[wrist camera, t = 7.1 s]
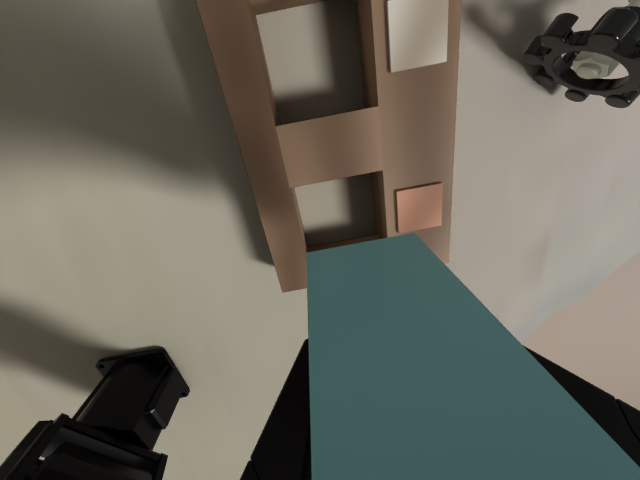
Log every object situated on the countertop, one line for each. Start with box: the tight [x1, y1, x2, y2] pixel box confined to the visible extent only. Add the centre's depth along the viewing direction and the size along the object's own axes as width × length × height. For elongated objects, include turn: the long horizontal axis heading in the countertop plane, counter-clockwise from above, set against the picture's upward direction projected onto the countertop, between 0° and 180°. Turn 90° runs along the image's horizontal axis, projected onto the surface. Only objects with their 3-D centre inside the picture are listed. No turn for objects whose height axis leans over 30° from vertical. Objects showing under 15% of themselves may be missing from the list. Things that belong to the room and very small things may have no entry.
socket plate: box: [196, 0, 461, 292], centre depth 16 cm, size 12×18×3 cm, turn 10°
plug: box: [306, 233, 640, 480], centre depth 7 cm, size 4×4×8 cm
